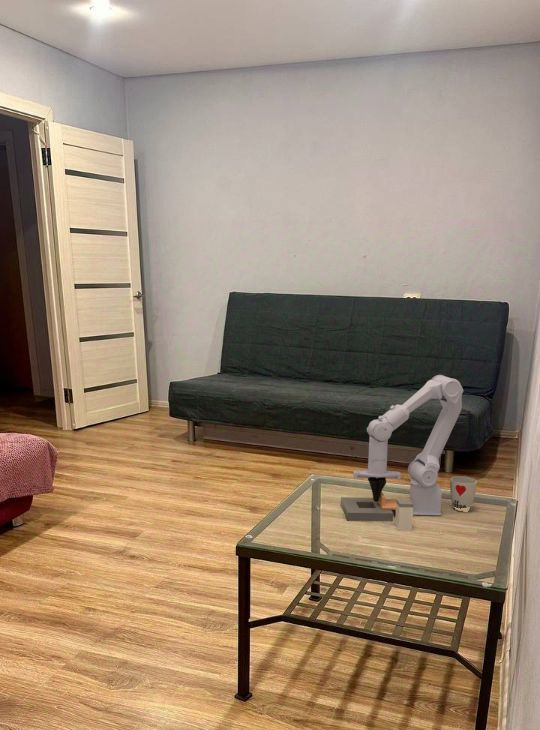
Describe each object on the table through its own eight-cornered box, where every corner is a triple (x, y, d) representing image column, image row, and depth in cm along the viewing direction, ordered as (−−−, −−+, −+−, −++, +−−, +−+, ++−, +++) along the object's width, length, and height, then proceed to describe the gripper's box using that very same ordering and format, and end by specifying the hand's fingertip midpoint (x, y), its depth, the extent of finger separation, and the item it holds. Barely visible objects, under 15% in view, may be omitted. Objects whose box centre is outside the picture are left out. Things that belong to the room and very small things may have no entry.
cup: (443, 507, 194) (445, 477, 193) (461, 503, 198) (462, 474, 197) (462, 515, 187) (464, 485, 186) (480, 511, 191) (482, 481, 190)
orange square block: (401, 500, 192) (402, 490, 191) (408, 509, 184) (408, 498, 183) (377, 500, 191) (377, 489, 191) (382, 509, 184) (382, 498, 183)
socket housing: (383, 505, 195) (383, 497, 195) (392, 521, 181) (393, 513, 181) (340, 504, 194) (340, 497, 194) (347, 520, 181) (347, 512, 180)
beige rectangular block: (408, 525, 178) (409, 499, 177) (411, 530, 174) (413, 504, 173) (395, 525, 178) (396, 499, 177) (398, 530, 174) (399, 503, 173)
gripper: (397, 455, 190) (395, 496, 191) (352, 454, 190) (350, 495, 191) (403, 461, 183) (400, 504, 184) (356, 460, 183) (354, 503, 184)
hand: (375, 500), depth 187 cm, fingers closed
